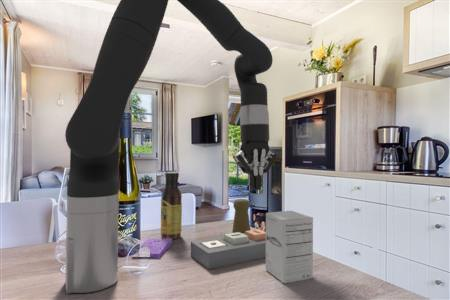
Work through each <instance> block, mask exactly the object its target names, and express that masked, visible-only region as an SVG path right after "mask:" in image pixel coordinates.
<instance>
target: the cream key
mask: <svg viewBox="0 0 450 300" xmlns="http://www.w3.org/2000/svg"><path fill="white" fill-rule="evenodd" d="M201 245H203V246H204V247H206V248H207V249H213V248H219V247H225V246H226V245H225V244H223V243H221V242H220V241H218V240H216V241H209V242H203V243H201Z"/></svg>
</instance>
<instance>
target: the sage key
mask: <svg viewBox="0 0 450 300" xmlns="http://www.w3.org/2000/svg"><path fill="white" fill-rule="evenodd" d="M223 236H224V241H226V242H227V243H229V244H231V245H236V244H242V243H248V236H247V235H244V234H242V233H240V232H236V233H232V232H231V233H225V234H224V235H223Z"/></svg>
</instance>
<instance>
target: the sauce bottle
mask: <svg viewBox="0 0 450 300" xmlns="http://www.w3.org/2000/svg"><path fill="white" fill-rule="evenodd" d="M164 177H165V187H164V189H163V192H162V195H161V198H160V205H161V206H160V236H161V239H164V238H172V240H174V239H176V240H177V239H179V238H180V237H181V235H182V234H181V233H182V216H183V215H182V211H183V209H182V208H183V206H182V205H183V204H182V197H183V196H182V192H181V190H180V189H179V177H180V172H178V171H166V172H165V173H164Z"/></svg>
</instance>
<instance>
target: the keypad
mask: <svg viewBox="0 0 450 300" xmlns="http://www.w3.org/2000/svg"><path fill="white" fill-rule="evenodd" d="M243 234H244V235H245V233H243ZM216 240H218V241H220V242H221V243H223V244H225V245H226V246H225V247H219V248H213V249H207V248H206V247H204V246H203V245H201V243H203V242H209V241H216ZM190 257H192V258H193V259H194V260H196V261H197V262H198V263H200V264H201V265H202V266H203V267H204V268H206V269H207V270H212V269H216V268H221V267H227V266H231V265H234V264H240V263H244V262H249V261H254V260H259V259H263V258H266V239H265V240H259V241H253V240H250V239H248V243H242V244H236V245H231V244H229V243H227V242H226V241H224V235H223V236H218V237H211V238H204V239H199V240H192V241H190Z"/></svg>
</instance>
